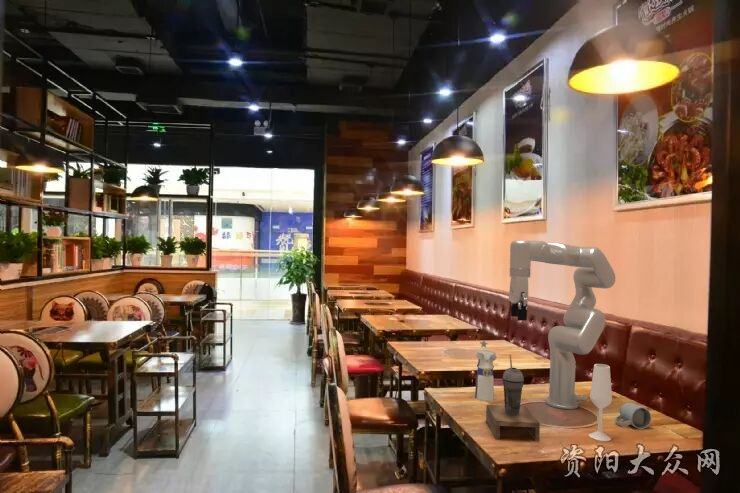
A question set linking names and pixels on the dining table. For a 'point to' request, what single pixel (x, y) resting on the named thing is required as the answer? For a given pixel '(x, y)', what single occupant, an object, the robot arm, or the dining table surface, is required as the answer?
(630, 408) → the ceramic mug
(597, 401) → the champagne flute
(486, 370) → the water bottle
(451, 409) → the dining table surface
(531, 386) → the dining table surface
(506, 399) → the beverage cup
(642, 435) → the dining table surface
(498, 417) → the walnut shelf
